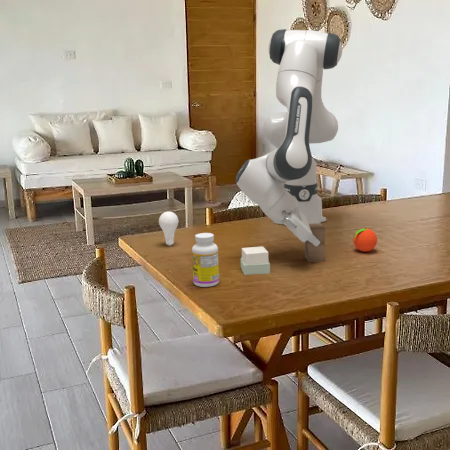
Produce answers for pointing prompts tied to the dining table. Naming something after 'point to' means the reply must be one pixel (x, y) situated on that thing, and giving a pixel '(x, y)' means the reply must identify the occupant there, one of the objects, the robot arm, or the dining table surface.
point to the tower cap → (255, 255)
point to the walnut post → (311, 250)
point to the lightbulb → (168, 226)
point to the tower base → (255, 268)
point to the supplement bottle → (205, 261)
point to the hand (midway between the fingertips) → (317, 241)
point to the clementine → (365, 240)
